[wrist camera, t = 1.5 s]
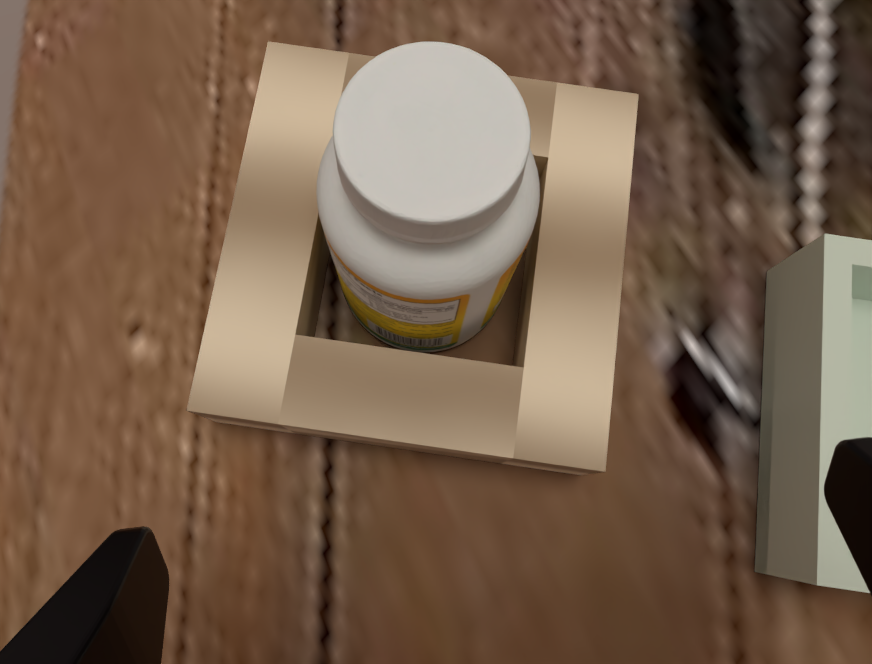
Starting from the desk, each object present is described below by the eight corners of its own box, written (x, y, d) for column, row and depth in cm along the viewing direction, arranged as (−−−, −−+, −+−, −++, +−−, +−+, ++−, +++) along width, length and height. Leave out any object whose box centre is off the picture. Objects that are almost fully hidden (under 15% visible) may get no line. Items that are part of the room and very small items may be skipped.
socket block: (580, 474, 22) (605, 471, 19) (216, 422, 22) (186, 410, 20) (612, 141, 25) (638, 94, 22) (285, 95, 25) (268, 41, 22)
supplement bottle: (393, 385, 23) (377, 307, 14) (313, 246, 24) (246, 83, 14) (537, 303, 24) (616, 175, 14) (453, 171, 25) (476, -30, 15)
